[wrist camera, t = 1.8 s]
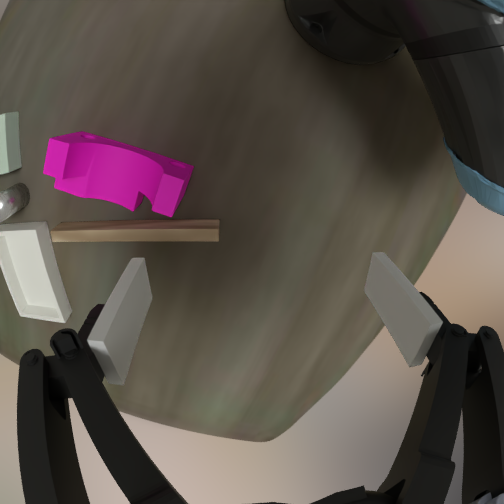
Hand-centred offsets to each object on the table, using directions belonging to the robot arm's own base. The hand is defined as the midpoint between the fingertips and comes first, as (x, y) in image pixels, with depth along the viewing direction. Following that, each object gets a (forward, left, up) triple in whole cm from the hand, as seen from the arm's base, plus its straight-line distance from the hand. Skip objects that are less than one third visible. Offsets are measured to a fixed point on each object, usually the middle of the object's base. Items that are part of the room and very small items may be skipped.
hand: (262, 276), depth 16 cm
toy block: (-2, -14, -19) cm, 24 cm away
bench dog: (-1, -32, -19) cm, 37 cm away
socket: (-9, -35, -19) cm, 41 cm away
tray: (+11, -33, -19) cm, 40 cm away
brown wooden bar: (+5, -14, -19) cm, 24 cm away
